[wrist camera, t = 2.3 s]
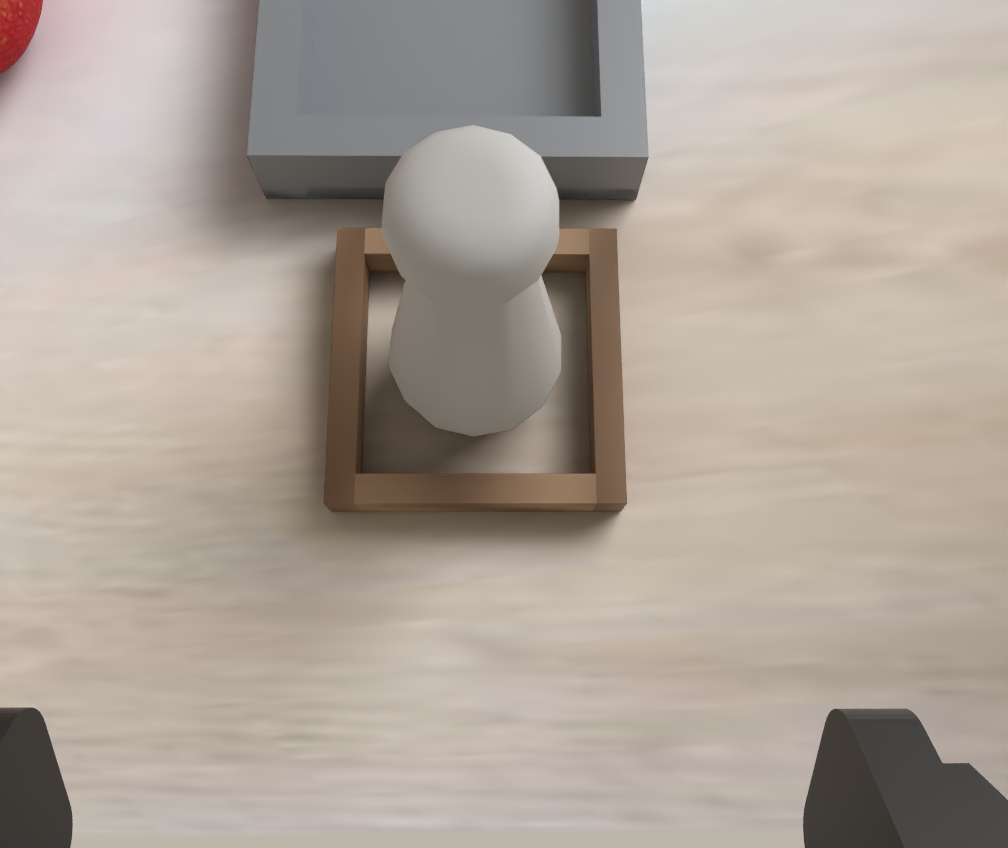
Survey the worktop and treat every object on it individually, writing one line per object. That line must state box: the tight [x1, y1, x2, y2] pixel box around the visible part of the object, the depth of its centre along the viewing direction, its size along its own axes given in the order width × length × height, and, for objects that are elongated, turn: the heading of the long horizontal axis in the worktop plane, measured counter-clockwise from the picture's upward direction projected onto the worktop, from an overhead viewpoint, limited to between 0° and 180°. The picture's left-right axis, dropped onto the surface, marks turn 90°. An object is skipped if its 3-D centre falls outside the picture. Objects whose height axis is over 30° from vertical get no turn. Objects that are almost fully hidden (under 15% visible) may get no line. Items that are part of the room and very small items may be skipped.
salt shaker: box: [381, 125, 561, 437], centre depth 28 cm, size 6×6×13 cm
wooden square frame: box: [324, 228, 627, 512], centre depth 33 cm, size 10×10×2 cm
